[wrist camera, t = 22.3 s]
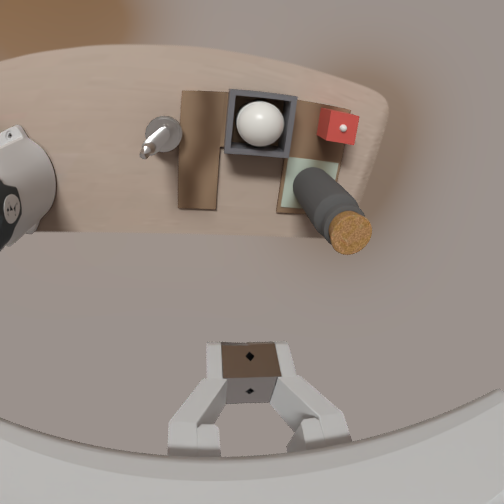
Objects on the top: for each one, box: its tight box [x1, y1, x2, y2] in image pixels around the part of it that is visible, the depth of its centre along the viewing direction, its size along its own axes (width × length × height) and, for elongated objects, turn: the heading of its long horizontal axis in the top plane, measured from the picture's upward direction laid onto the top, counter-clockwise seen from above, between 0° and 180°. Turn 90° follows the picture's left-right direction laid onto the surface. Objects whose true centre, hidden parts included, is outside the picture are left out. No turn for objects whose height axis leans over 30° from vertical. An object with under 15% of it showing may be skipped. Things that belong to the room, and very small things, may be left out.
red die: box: [317, 108, 359, 145], centre depth 35 cm, size 4×4×4 cm
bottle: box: [293, 167, 372, 255], centre depth 36 cm, size 6×6×15 cm
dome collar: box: [224, 89, 298, 158], centre depth 35 cm, size 8×8×4 cm
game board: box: [178, 91, 351, 214], centre depth 39 cm, size 23×17×1 cm
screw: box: [140, 116, 182, 159], centre depth 31 cm, size 13×5×5 cm
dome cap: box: [235, 100, 284, 146], centre depth 34 cm, size 6×6×6 cm
